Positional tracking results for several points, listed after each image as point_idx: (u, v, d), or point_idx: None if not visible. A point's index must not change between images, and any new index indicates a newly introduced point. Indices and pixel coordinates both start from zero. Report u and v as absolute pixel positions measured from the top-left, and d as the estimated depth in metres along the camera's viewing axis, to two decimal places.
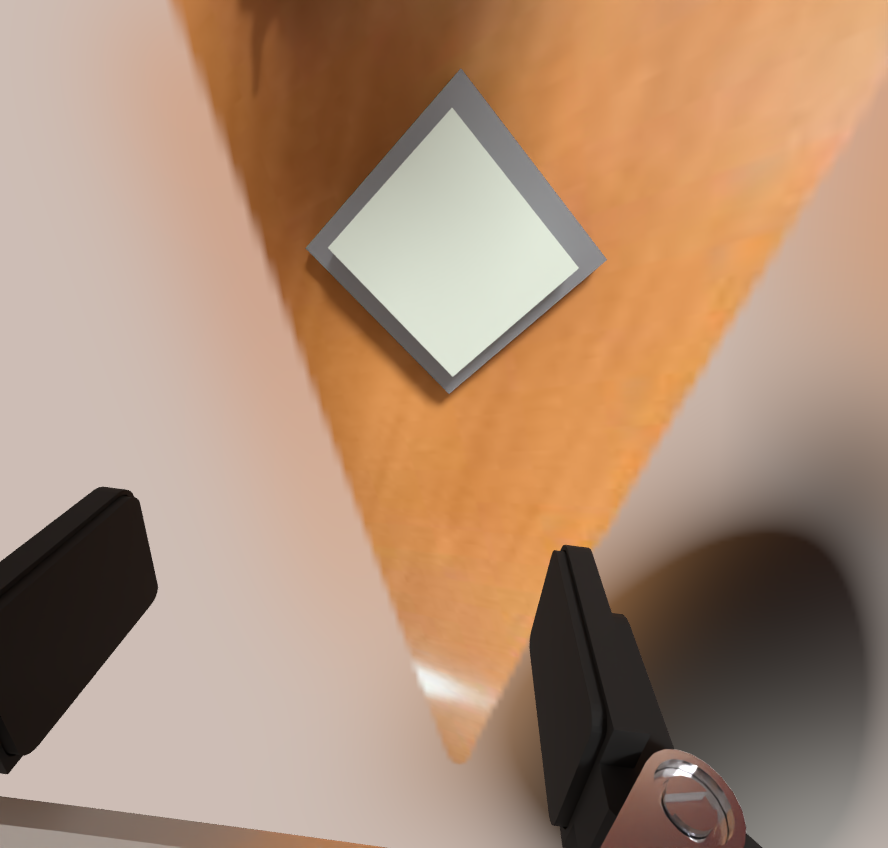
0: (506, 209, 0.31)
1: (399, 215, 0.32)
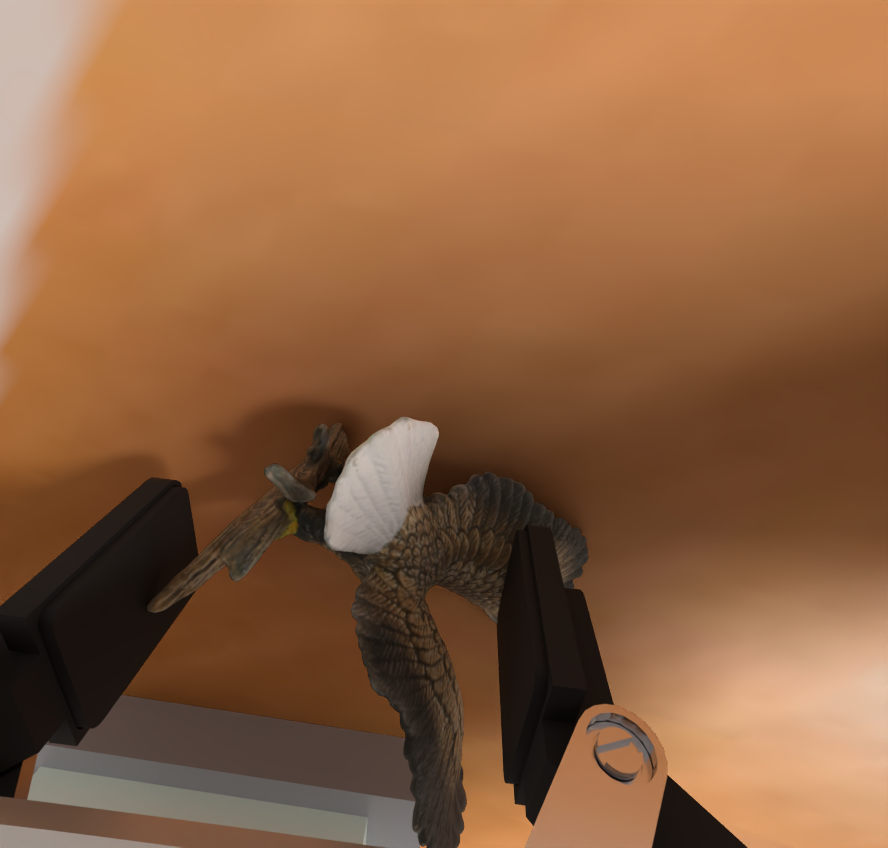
0: None
1: None
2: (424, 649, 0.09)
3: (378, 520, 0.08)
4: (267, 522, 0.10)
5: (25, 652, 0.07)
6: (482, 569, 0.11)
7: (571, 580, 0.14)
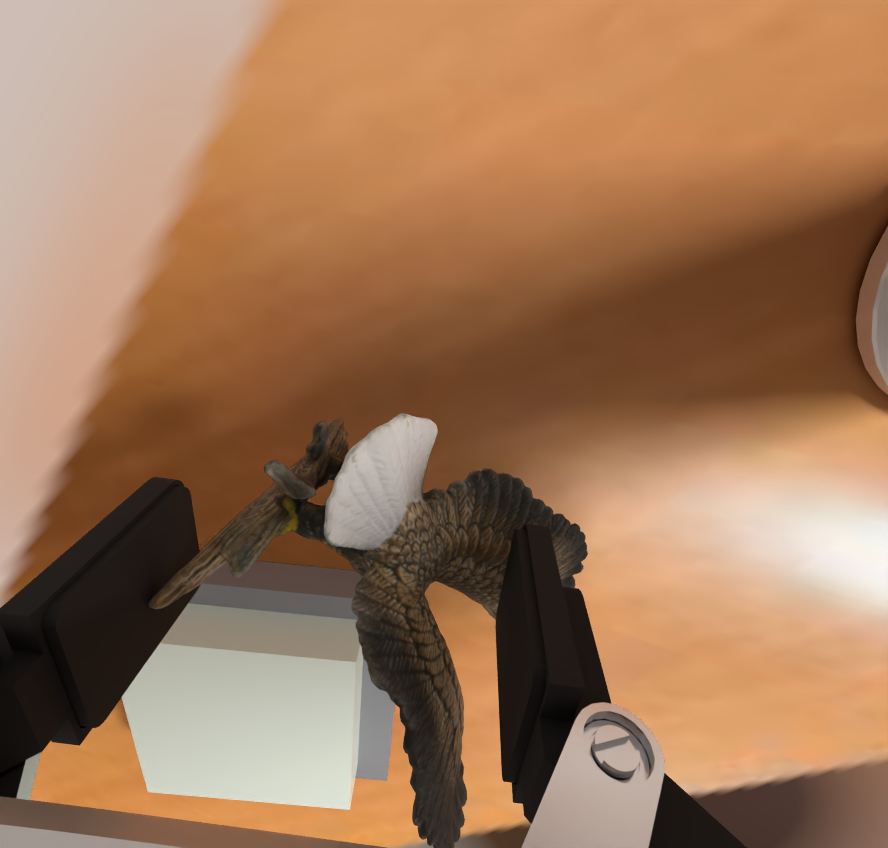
0: (329, 743, 0.26)
1: (218, 677, 0.23)
2: (424, 644, 0.09)
3: (378, 516, 0.09)
4: (267, 519, 0.10)
5: (28, 651, 0.07)
6: (481, 565, 0.11)
7: (570, 577, 0.14)
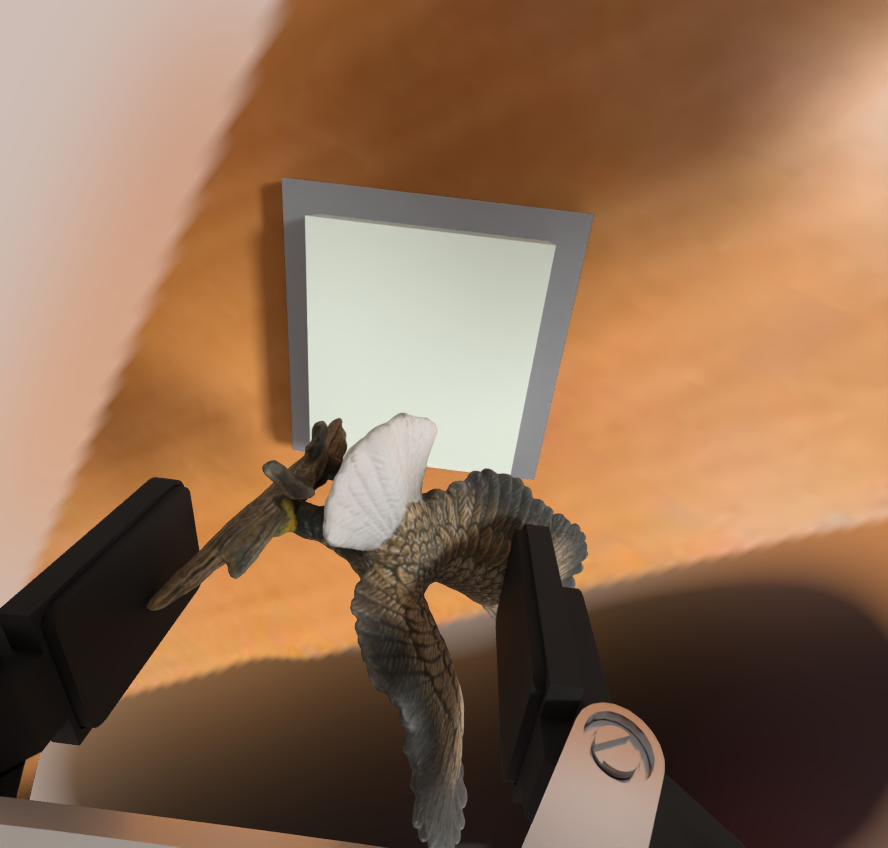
0: (506, 375, 0.25)
1: (410, 273, 0.23)
2: (424, 645, 0.09)
3: (377, 516, 0.08)
4: (266, 519, 0.10)
5: (28, 651, 0.07)
6: (481, 565, 0.11)
7: (571, 577, 0.14)
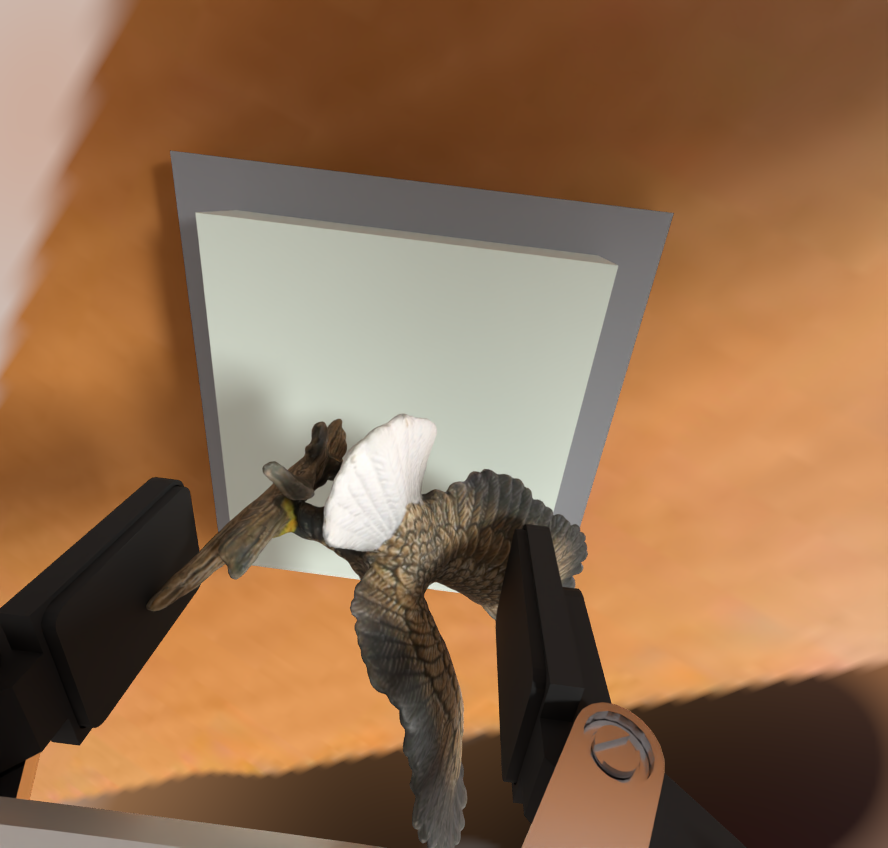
0: (528, 463, 0.16)
1: (374, 307, 0.14)
2: (423, 646, 0.09)
3: (377, 517, 0.08)
4: (266, 520, 0.10)
5: (29, 651, 0.07)
6: (481, 566, 0.11)
7: (571, 578, 0.14)
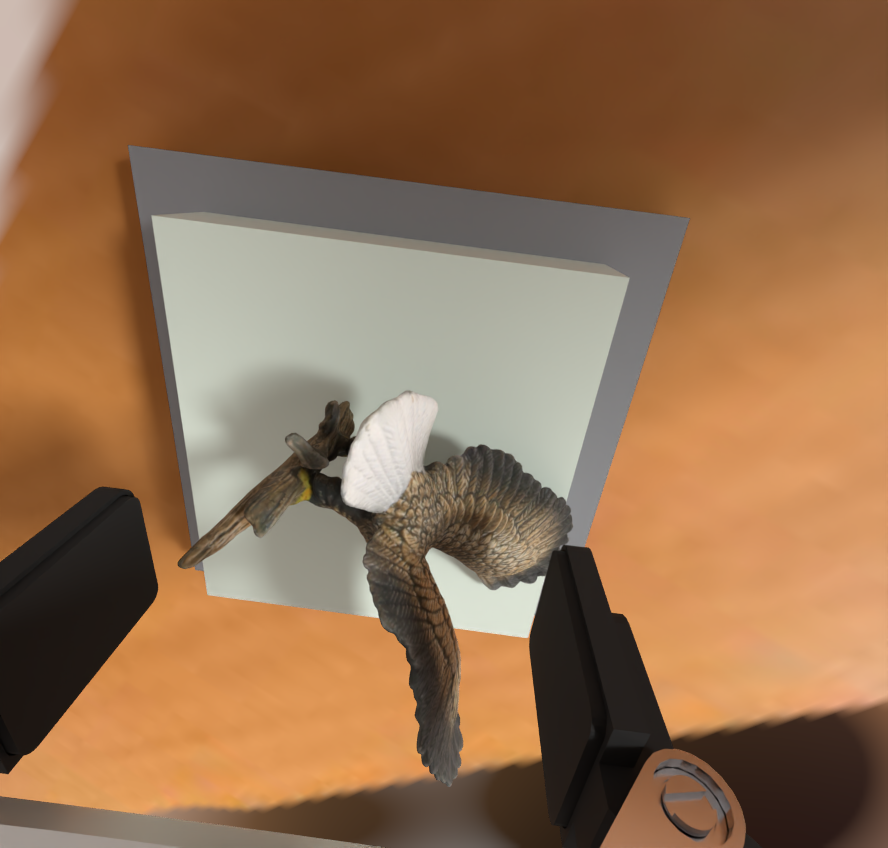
0: None
1: (355, 323, 0.13)
2: (426, 598, 0.11)
3: (386, 481, 0.10)
4: (285, 488, 0.11)
5: None
6: (477, 532, 0.12)
7: (558, 548, 0.15)
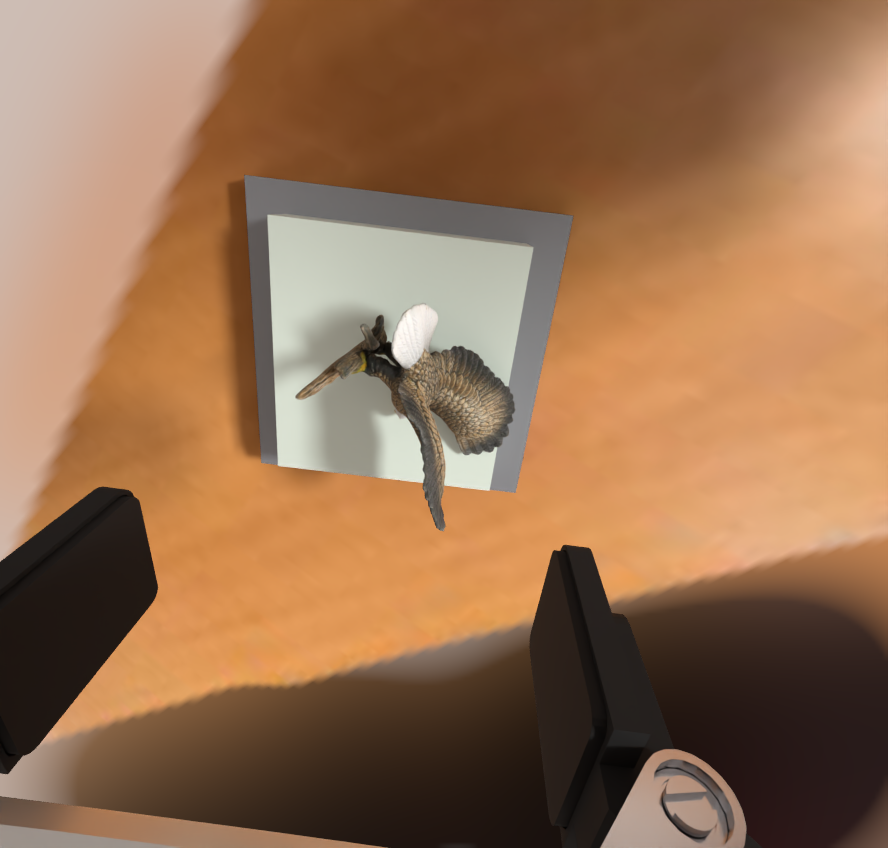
0: None
1: (380, 275, 0.22)
2: (428, 418, 0.20)
3: (411, 349, 0.19)
4: (354, 359, 0.20)
5: None
6: (457, 395, 0.21)
7: (506, 425, 0.24)
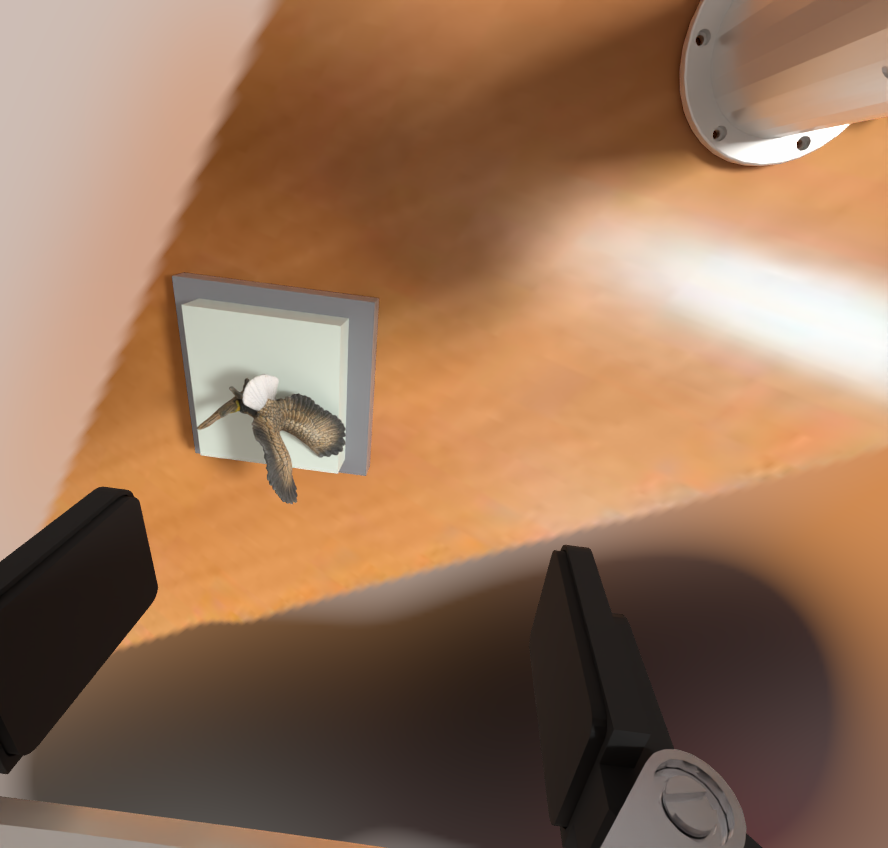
0: (323, 405, 0.38)
1: (252, 340, 0.36)
2: (273, 438, 0.34)
3: (258, 400, 0.33)
4: (230, 405, 0.35)
5: None
6: (297, 423, 0.36)
7: (342, 438, 0.39)
